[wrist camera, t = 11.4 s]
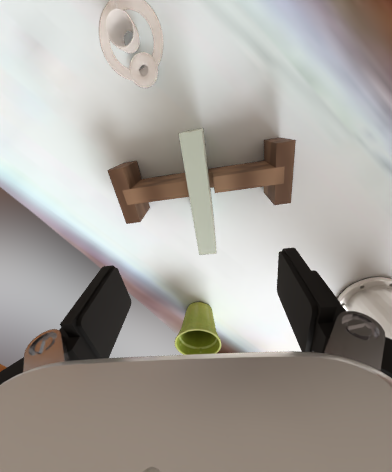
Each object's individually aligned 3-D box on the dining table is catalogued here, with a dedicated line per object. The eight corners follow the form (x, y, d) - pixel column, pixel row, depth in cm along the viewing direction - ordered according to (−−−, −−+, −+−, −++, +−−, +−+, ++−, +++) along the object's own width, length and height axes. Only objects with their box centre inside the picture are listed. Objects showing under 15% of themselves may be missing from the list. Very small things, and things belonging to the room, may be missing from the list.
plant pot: (172, 302, 47) (166, 336, 39) (210, 291, 45) (210, 325, 37) (189, 326, 51) (186, 361, 43) (224, 317, 49) (227, 353, 41)
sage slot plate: (203, 127, 29) (201, 129, 19) (213, 215, 36) (216, 253, 25) (188, 130, 29) (178, 133, 19) (201, 217, 36) (199, 255, 26)
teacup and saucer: (164, 91, 28) (158, 86, 24) (107, 86, 28) (92, 80, 24) (163, -2, 23) (155, -24, 20) (95, -7, 23) (76, -30, 20)
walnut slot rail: (279, 137, 29) (295, 140, 24) (277, 190, 33) (290, 203, 28) (123, 162, 32) (107, 170, 27) (138, 209, 36) (126, 223, 31)
